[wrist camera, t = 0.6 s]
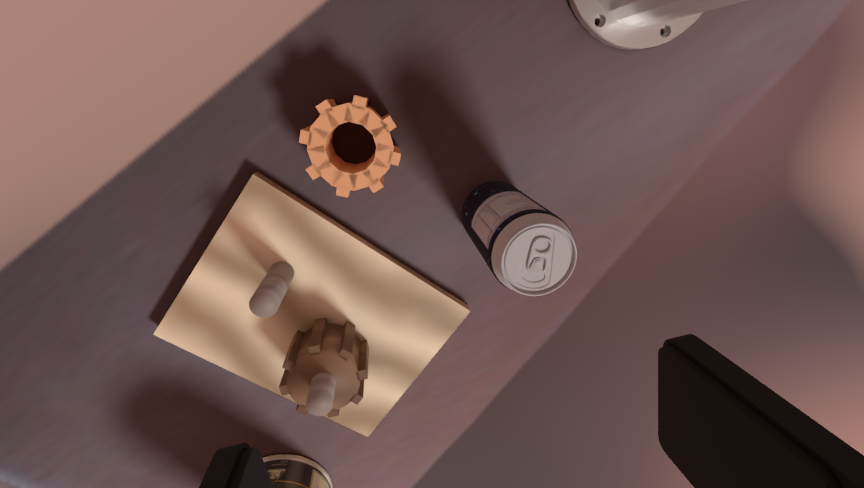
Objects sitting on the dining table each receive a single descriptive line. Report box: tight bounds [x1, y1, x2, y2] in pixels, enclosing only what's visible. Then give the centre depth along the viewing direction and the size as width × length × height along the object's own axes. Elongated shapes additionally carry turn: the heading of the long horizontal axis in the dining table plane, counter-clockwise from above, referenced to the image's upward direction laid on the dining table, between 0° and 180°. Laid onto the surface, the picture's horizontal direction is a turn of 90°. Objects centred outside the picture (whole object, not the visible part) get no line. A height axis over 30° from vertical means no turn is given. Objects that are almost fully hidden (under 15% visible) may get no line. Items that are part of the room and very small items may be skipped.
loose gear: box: [299, 95, 401, 197], centre depth 32 cm, size 7×7×4 cm
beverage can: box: [462, 181, 577, 296], centre depth 32 cm, size 6×6×12 cm
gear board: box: [153, 172, 470, 437], centre depth 35 cm, size 17×22×8 cm
